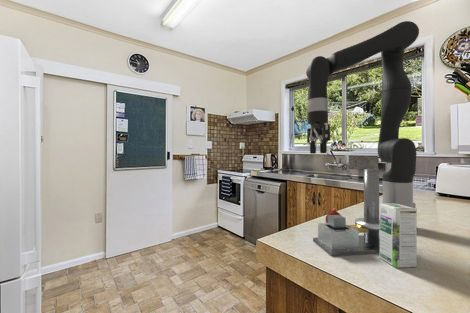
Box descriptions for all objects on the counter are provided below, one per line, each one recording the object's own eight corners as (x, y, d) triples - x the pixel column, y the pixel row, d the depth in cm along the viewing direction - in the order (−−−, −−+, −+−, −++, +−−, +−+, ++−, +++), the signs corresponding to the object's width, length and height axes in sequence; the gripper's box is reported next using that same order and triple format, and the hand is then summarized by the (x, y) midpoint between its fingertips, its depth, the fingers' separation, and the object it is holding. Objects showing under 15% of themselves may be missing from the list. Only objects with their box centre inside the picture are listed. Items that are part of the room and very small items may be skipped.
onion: (345, 233, 79) (344, 210, 79) (327, 232, 80) (327, 210, 80) (340, 228, 84) (340, 207, 84) (324, 227, 85) (324, 206, 85)
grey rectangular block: (339, 240, 70) (338, 214, 70) (345, 245, 66) (345, 217, 66) (327, 241, 69) (327, 215, 69) (334, 245, 66) (333, 218, 66)
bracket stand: (372, 237, 74) (372, 168, 74) (400, 252, 63) (399, 170, 63) (313, 240, 72) (312, 169, 72) (331, 256, 61) (330, 171, 61)
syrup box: (378, 257, 60) (378, 203, 60) (399, 256, 61) (398, 202, 61) (395, 268, 54) (395, 208, 54) (418, 267, 55) (417, 207, 55)
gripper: (336, 107, 81) (337, 153, 81) (318, 114, 95) (318, 153, 95) (316, 107, 80) (317, 153, 80) (300, 114, 94) (301, 153, 94)
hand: (317, 153), depth 88 cm, fingers open, 8 cm apart
